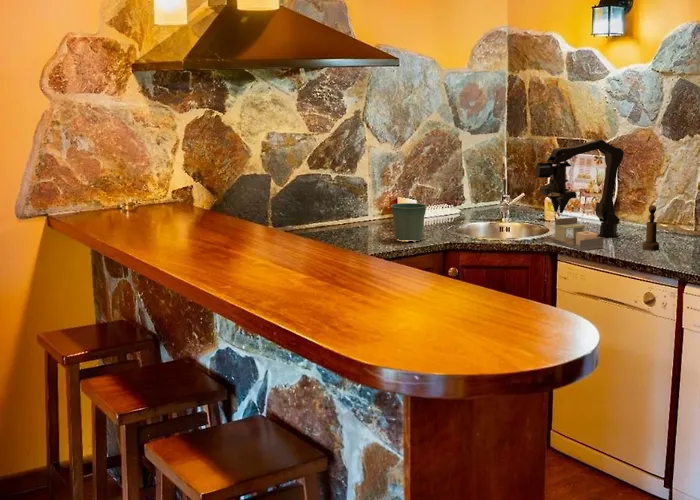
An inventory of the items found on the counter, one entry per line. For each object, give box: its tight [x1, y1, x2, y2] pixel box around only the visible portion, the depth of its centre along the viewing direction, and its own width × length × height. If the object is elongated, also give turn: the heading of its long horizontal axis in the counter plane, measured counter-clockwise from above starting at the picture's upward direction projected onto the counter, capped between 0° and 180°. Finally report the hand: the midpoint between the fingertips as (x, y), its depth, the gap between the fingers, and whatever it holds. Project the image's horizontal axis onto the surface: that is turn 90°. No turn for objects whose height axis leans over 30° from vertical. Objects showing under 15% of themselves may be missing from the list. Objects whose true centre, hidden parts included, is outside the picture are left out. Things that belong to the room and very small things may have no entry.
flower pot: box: [390, 202, 428, 240], centre depth 368 cm, size 16×16×16 cm
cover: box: [554, 217, 586, 242], centre depth 353 cm, size 10×7×9 cm
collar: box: [576, 230, 598, 245], centre depth 342 cm, size 6×6×5 cm
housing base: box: [553, 237, 605, 251], centre depth 348 cm, size 11×20×4 cm, turn 19°
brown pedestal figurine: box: [642, 205, 660, 251], centre depth 334 cm, size 7×6×18 cm
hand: (558, 212), depth 360 cm, fingers open, 4 cm apart
